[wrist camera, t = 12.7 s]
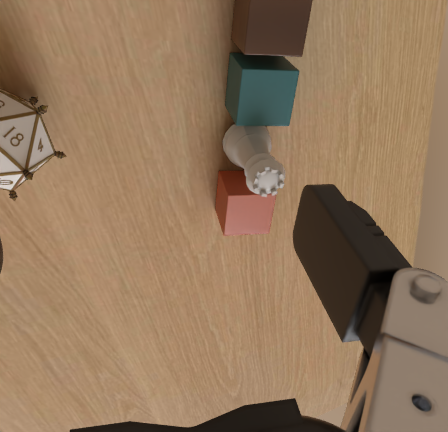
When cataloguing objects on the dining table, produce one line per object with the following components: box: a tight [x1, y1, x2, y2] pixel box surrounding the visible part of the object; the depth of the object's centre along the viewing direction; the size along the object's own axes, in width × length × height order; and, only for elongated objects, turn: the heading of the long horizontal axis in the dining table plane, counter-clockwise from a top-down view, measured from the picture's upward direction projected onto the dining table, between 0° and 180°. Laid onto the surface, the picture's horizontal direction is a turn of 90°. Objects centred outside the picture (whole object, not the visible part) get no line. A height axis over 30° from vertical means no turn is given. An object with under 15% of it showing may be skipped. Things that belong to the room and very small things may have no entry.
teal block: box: [225, 53, 299, 126], centre depth 35 cm, size 4×4×4 cm
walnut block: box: [231, 0, 312, 57], centre depth 32 cm, size 4×4×4 cm
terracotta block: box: [215, 170, 276, 236], centre depth 41 cm, size 4×4×4 cm
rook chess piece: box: [223, 124, 285, 197], centre depth 37 cm, size 4×4×8 cm
